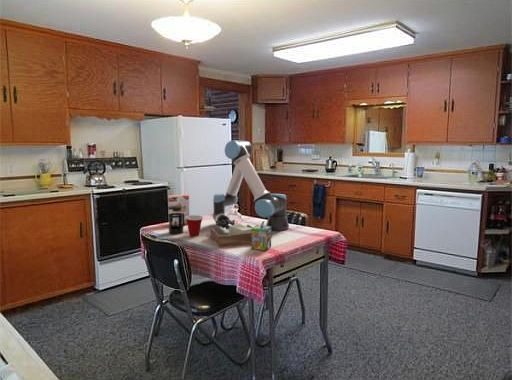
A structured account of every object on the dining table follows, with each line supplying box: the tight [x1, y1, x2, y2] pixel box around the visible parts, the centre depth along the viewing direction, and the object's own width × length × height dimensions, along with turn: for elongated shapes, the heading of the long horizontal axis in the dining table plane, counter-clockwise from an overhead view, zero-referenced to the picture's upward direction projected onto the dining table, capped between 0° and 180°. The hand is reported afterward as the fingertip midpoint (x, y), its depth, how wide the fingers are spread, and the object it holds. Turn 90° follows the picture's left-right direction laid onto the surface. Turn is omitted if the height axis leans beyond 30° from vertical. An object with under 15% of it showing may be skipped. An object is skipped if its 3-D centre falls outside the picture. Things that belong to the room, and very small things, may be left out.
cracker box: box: [167, 194, 190, 226], centre depth 254 cm, size 14×6×21 cm, turn 104°
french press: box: [167, 197, 186, 236], centre depth 233 cm, size 12×9×23 cm
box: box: [210, 224, 254, 248], centre depth 215 cm, size 22×24×6 cm
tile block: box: [228, 224, 252, 235], centre depth 214 cm, size 14×7×8 cm, turn 38°
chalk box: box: [251, 220, 272, 252], centre depth 198 cm, size 9×9×15 cm
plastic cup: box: [185, 214, 204, 238], centre depth 225 cm, size 11×11×12 cm
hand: (231, 228), depth 218 cm, fingers closed
